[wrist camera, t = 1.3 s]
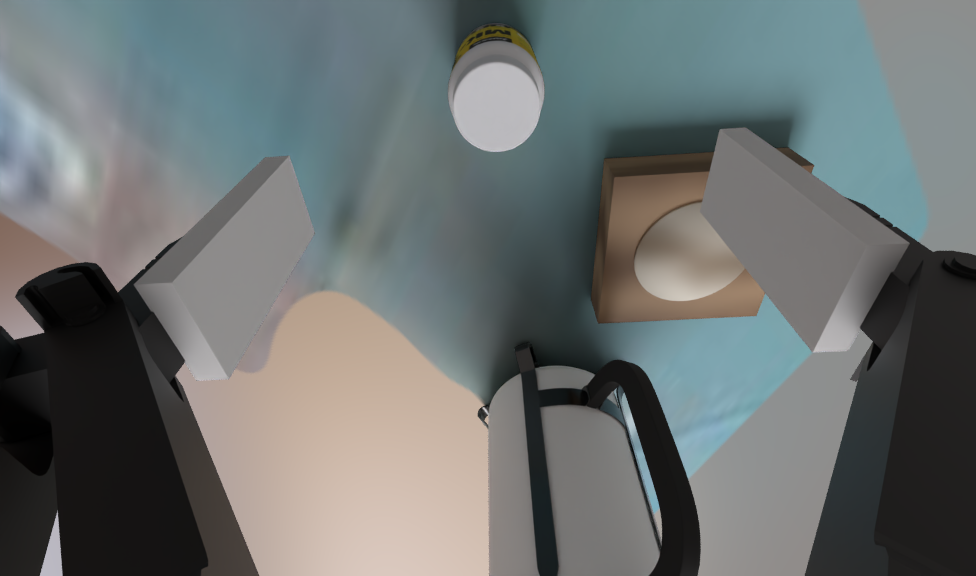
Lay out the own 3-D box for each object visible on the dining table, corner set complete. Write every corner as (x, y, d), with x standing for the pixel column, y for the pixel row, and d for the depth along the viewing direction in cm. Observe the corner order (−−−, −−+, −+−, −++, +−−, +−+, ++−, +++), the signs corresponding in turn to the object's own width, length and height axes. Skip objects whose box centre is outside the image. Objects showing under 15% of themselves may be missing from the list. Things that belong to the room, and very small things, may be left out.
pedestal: (604, 158, 30) (615, 178, 28) (788, 147, 30) (816, 166, 28) (590, 299, 38) (598, 325, 35) (739, 291, 37) (757, 317, 35)
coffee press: (648, 417, 47) (816, 906, 23) (501, 448, 50) (516, 906, 27) (618, 292, 37) (857, 918, 13) (438, 341, 41) (371, 916, 17)
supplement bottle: (510, 3, 25) (519, 26, 18) (548, 82, 28) (568, 127, 21) (438, 53, 27) (422, 90, 20) (480, 123, 29) (479, 178, 22)
